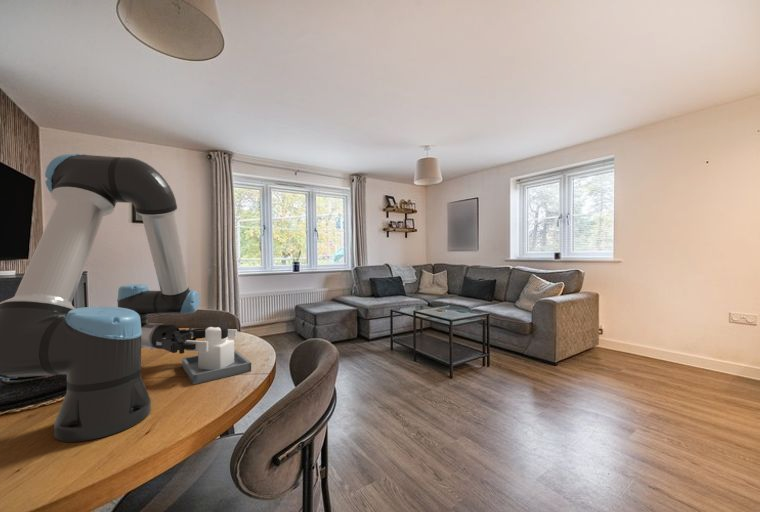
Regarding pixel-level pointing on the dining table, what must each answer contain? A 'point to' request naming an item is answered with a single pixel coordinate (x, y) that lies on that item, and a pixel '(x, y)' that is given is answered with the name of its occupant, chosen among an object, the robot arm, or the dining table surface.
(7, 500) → the dining table surface
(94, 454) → the dining table surface
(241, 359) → the tray
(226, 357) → the medicine bottle
